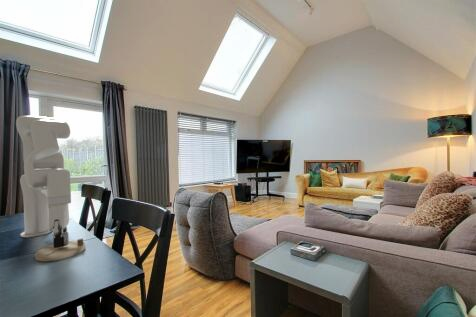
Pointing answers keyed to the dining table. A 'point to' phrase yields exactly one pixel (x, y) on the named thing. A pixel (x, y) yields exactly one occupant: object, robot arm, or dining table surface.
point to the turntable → (60, 251)
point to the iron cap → (66, 239)
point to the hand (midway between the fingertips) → (61, 243)
